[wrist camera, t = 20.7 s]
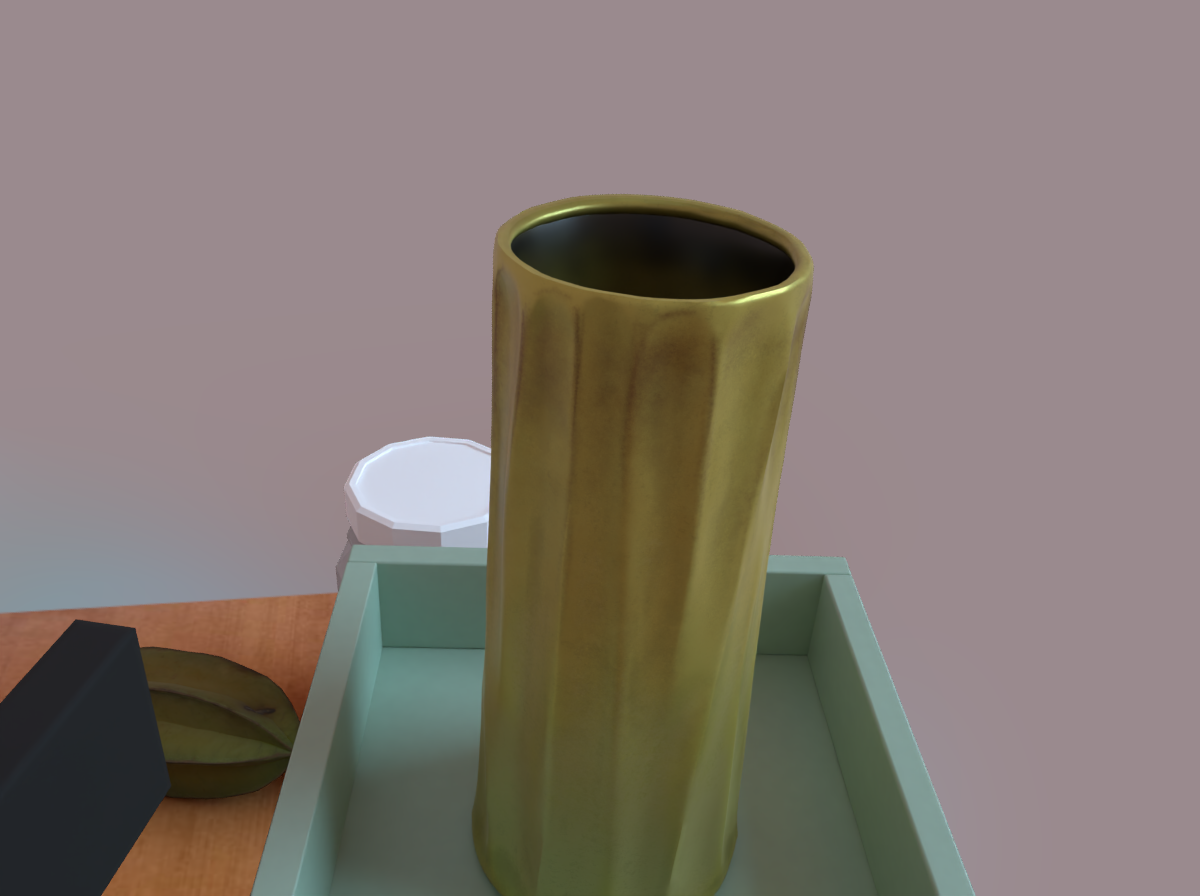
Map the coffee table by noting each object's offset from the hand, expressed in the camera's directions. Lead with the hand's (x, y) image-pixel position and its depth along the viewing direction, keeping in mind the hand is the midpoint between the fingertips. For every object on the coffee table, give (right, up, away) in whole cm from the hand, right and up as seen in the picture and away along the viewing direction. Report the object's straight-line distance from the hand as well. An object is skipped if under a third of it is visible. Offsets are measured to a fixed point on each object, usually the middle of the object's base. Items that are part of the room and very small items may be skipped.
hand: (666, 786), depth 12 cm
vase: (-1, -5, +12) cm, 13 cm away
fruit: (-24, -14, +44) cm, 52 cm away
